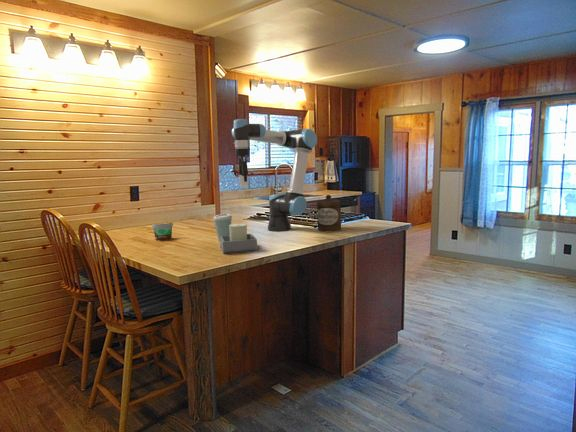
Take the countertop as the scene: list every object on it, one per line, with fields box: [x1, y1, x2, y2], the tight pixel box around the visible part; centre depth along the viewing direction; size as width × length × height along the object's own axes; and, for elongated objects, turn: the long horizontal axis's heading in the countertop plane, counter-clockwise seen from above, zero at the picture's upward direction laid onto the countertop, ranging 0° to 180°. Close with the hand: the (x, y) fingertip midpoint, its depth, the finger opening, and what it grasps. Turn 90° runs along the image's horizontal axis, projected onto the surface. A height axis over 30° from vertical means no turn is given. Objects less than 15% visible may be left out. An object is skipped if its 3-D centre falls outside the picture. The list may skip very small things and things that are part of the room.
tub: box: [219, 233, 258, 255], centre depth 213 cm, size 17×17×6 cm
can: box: [229, 223, 248, 241], centre depth 213 cm, size 9×9×12 cm
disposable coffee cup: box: [212, 213, 233, 242], centre depth 236 cm, size 11×11×15 cm
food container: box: [151, 221, 174, 241], centre depth 246 cm, size 12×6×10 cm, turn 112°
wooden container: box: [316, 194, 342, 232], centre depth 259 cm, size 15×15×22 cm
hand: (243, 187), depth 228 cm, fingers open, 13 cm apart
